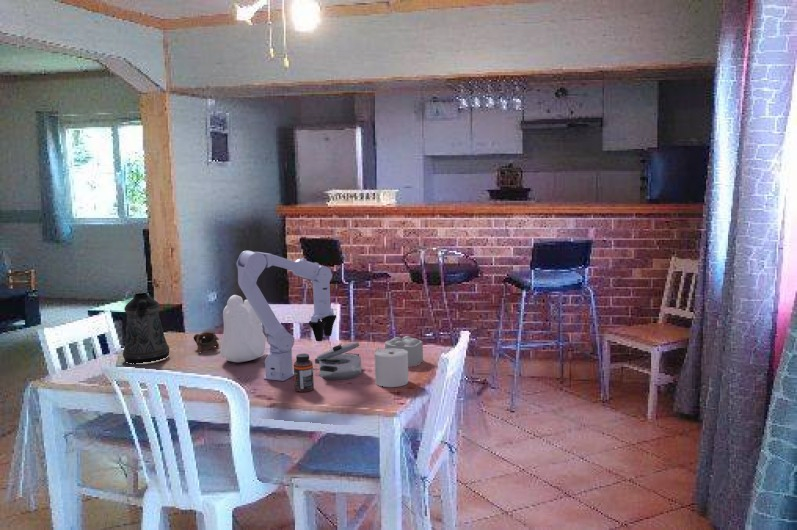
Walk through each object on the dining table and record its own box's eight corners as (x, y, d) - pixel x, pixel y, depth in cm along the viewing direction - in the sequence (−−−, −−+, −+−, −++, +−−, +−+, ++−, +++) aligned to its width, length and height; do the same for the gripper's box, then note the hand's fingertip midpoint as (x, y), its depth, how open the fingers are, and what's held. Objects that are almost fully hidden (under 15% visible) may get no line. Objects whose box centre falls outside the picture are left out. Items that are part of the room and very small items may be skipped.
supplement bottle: (293, 388, 227) (291, 353, 226) (311, 385, 229) (309, 351, 228) (297, 393, 222) (295, 358, 220) (316, 391, 224) (314, 355, 222)
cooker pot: (346, 383, 230) (345, 368, 230) (303, 379, 237) (303, 364, 236) (371, 367, 248) (370, 353, 247) (330, 364, 254) (330, 350, 253)
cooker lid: (347, 353, 231) (344, 346, 231) (309, 363, 237) (307, 356, 237) (366, 342, 244) (364, 335, 244) (330, 352, 251) (328, 346, 251)
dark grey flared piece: (157, 351, 280) (152, 288, 276) (181, 359, 266) (176, 293, 263) (115, 360, 269) (110, 294, 265) (139, 369, 255) (133, 300, 251)
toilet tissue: (400, 389, 223) (399, 358, 222) (366, 385, 228) (364, 354, 227) (414, 379, 233) (413, 349, 231) (381, 376, 238) (380, 346, 236)
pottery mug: (226, 348, 282) (223, 333, 277) (211, 364, 276) (207, 349, 271) (202, 339, 287) (198, 324, 282) (186, 354, 280) (182, 339, 275)
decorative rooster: (246, 369, 251) (241, 299, 247) (210, 365, 257) (205, 297, 254) (286, 351, 273) (283, 287, 270) (252, 348, 280) (248, 285, 276)
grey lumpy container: (414, 367, 246) (414, 343, 245) (380, 364, 251) (379, 340, 250) (425, 359, 255) (424, 336, 254) (392, 357, 260) (391, 333, 259)
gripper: (324, 304, 238) (325, 344, 240) (340, 296, 252) (342, 334, 254) (304, 303, 241) (306, 343, 243) (322, 295, 254) (324, 333, 256)
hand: (323, 338), depth 248 cm, fingers open, 7 cm apart
